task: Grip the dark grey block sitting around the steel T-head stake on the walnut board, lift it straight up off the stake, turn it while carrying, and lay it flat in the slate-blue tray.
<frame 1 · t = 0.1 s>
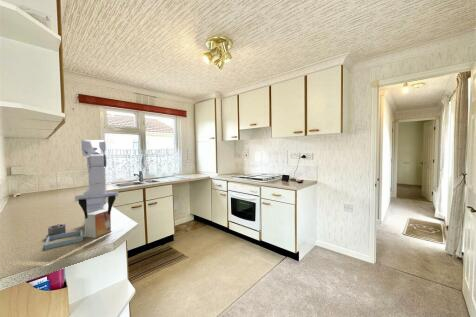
hand: (98, 215, 81), 10 cm above the counter, tool pointing down, fingers open, 7 cm apart
stake board: (62, 236, 87), on the counter
small box: (98, 236, 86), on the counter
dark grey block: (57, 235, 85), point 1 cm above the counter, touching stake board
tray: (65, 242, 79), on the counter
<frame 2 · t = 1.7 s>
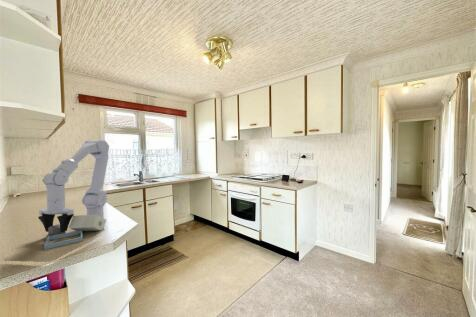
hand: (56, 231, 85), 3 cm above the counter, tool pointing down, fingers open, 7 cm apart
small box: (101, 223, 90), point 4 cm above the counter, touching gripper, tray
everything else where it was.
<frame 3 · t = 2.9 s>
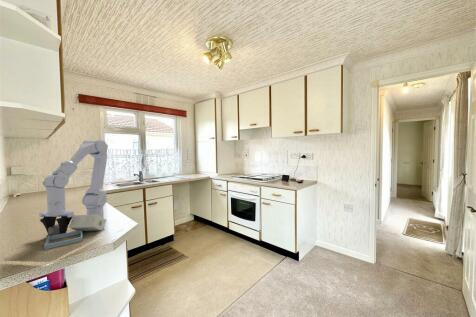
hand: (57, 233, 85), 2 cm above the counter, tool pointing down, fingers closed on dark grey block, 5 cm apart
small box: (101, 223, 90), point 4 cm above the counter, touching gripper
dark grey block: (57, 235, 85), point 1 cm above the counter, touching gripper, stake board
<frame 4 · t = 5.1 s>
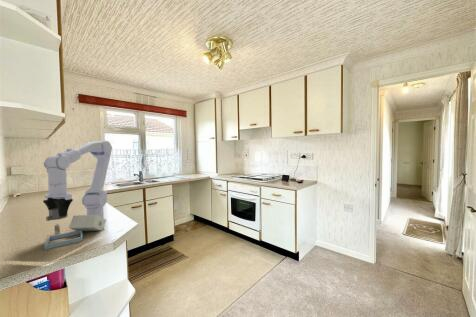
hand: (58, 215, 83), 10 cm above the counter, tool pointing down, fingers closed on dark grey block, 5 cm apart
small box: (101, 223, 90), point 4 cm above the counter, touching tray
dark grey block: (58, 217, 83), point 9 cm above the counter, touching gripper
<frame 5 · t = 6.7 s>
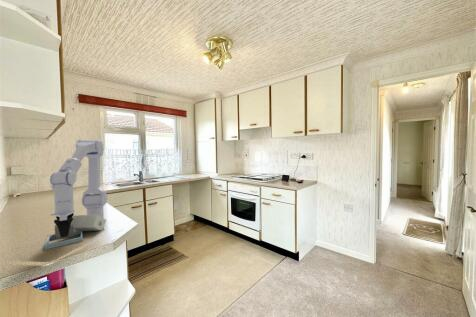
hand: (65, 234, 79), 4 cm above the counter, tool pointing down, fingers closed on dark grey block, 5 cm apart
dark grey block: (65, 236, 79), point 3 cm above the counter, touching gripper
everything else where it was.
when the fingers open (3 cm above the counter, at t = 7.7 s): dark grey block drops 2 cm, resting on tray.
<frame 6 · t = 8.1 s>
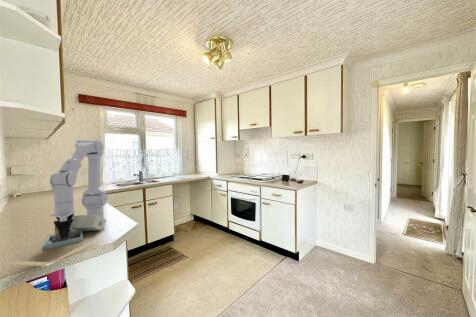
hand: (65, 234, 79), 3 cm above the counter, tool pointing down, fingers open, 7 cm apart
dark grey block: (65, 241, 79), point 1 cm above the counter, touching tray
everything else where it was.
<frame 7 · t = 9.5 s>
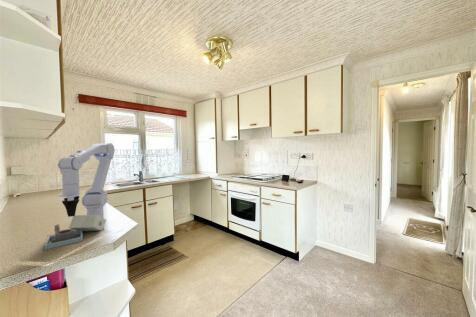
hand: (71, 214, 87), 9 cm above the counter, tool pointing down, fingers open, 7 cm apart
nothing on the counter moved.
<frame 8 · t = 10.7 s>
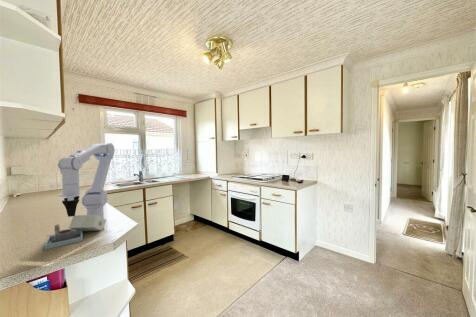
hand: (71, 214, 87), 9 cm above the counter, tool pointing down, fingers open, 7 cm apart
nothing on the counter moved.
at the end: dark grey block 0.0 cm off-centre on the tray, point 0.6 cm above the tray's base; dark grey block tilted 0°; the gripper is holding nothing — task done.
